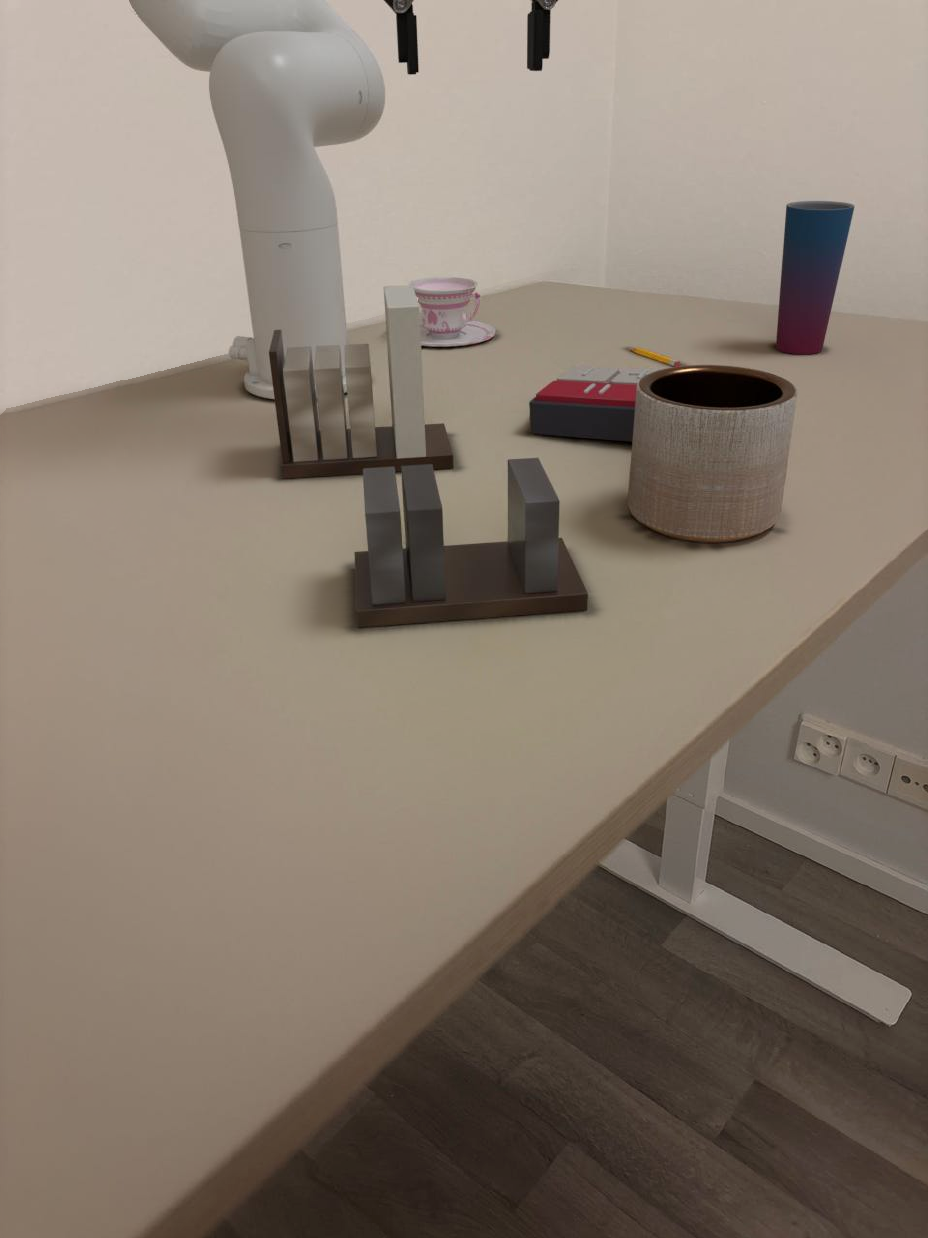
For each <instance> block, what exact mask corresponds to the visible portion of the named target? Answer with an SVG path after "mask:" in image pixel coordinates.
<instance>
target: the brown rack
mask: <svg viewBox="0 0 928 1238" xmlns="http://www.w3.org/2000/svg"><path fill="white" fill-rule="evenodd" d="M269 359H270V367H271V375H272V383H273V391H274V399H273V400H274V405H275V407H274V408H275V414H276V421H277V422H276V423H277V430H278V437H279V446H280V453H281V463H280V467H281V468H280V469H281V478H282V479H283V480H284V479H285V480H287V479H300V478H301V479H302V478H303V479H304V478H317V477H333V476H350V475H351V476H352V475H363V469H364V468H379V467H395V473H398V472H399V473H400V472H401V466H410V465H426V464H432V465H433V469H434V470H445V469H446V470H447V469H453V468H454V454H453V453H454V452H453V450H452V447H451V443H450V440H449V436H448V433H447V429H446V425H445V423H443V422H441V423H427V424H426V423H425V443H426V457H415V458H398V459H397V456H396V449H395V442H394V435H393V428H392V425H391V426H376V421H375V406H374V394H373V393H374V392H373V379H372V366H371V353H370V346H369V343H353V344H352V343H350V344H348V345H345V374H346V385H347V393H346V395H347V396H346V397H347V408H348V418H349V419H348V420H349V428H348V422H347V412H346V411H347V409H346V398H345V393H344V386H343V375H342V363H341V352H340V345H330V346H316V353H315V364H314V369H313V360H312V350H311V346H309V347H290V348H287V352H286V357H284V348H283V340H282V331H281V330H274V333H273V337H272V341H271V345H270V349H269ZM314 374H315V379H314ZM315 384H316V389H315ZM316 394H317V399H316Z"/></svg>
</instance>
